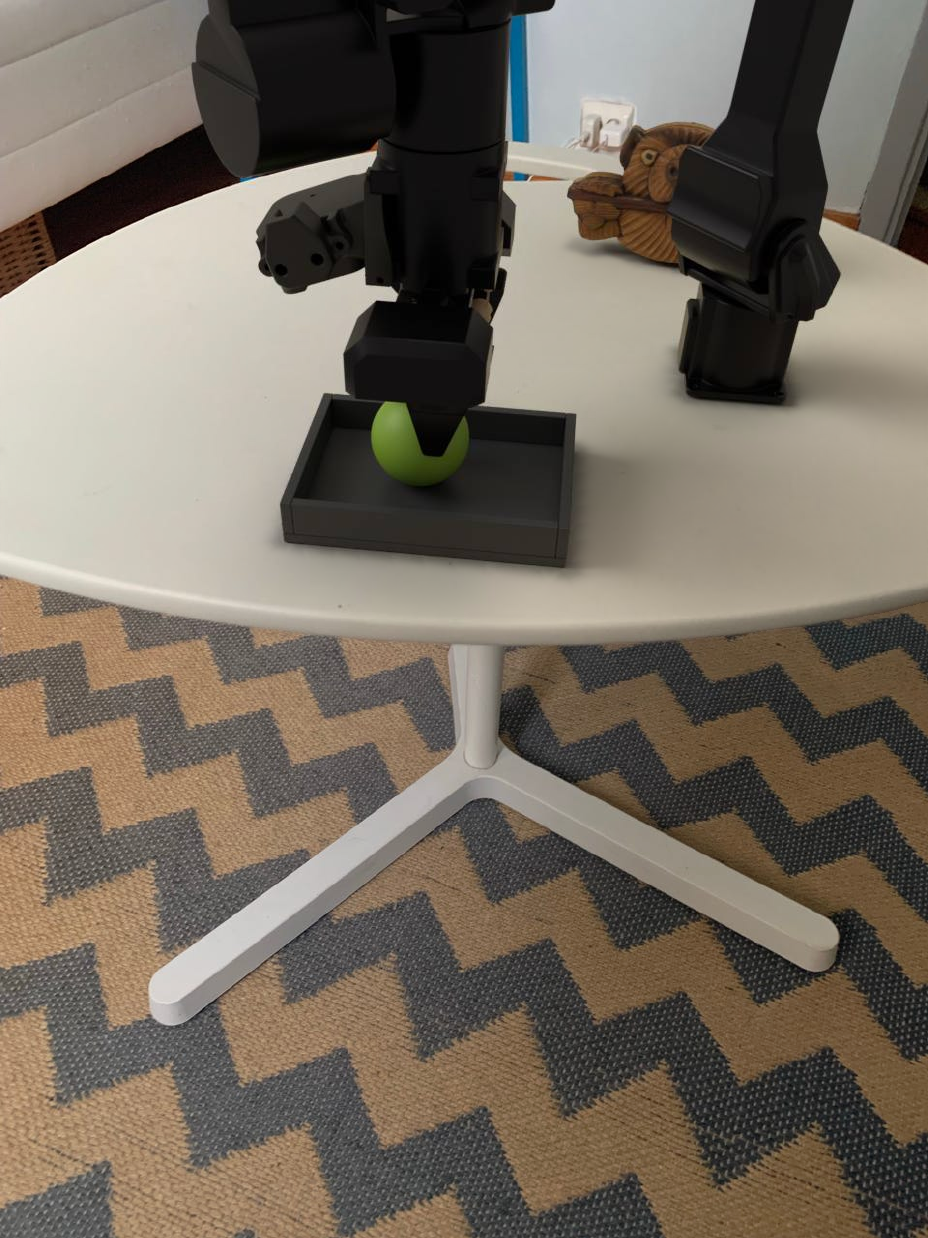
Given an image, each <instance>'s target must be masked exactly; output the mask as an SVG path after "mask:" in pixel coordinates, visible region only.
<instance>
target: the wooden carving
mask: <svg viewBox="0 0 928 1238" xmlns="http://www.w3.org/2000/svg"><path fill="white" fill-rule="evenodd" d="M715 129H716V128H713V127H711V126H708V125H707V124H703V123H699V122H694V121H692V122H691V121H672V122H666V123H662V124H658V125H656V126H653V127H649V128H648V129H645V128H643V127H642V126H640V125H637V124H634V125H633V126H632V127H631V128H630V131H629V132H628V135H627V137H626V138H625V140H624V142H623V144H622V146H621V149H620V153H619V156H618V157H619V163H620V166H621V167H622V168H623V172H622V174H619V173H616V172H610V171H591V172H589V173H587V174H586V175H585V176H581V177H577V178H575V179H574V180H573V182H572V183H571V185H570V186H569V187H568V189H567V193H566V198H567V199H568V200H571V201H572V206H573V207H572V208H573V213H574V214H575V215H576V216H577V227H578V234H579V236H580V237H581V239H584V240H588V241H593V242H594V241H602V240H603V241H604V240H608V239H613V238H616V239H617V241H619V243H620V244H621V245H623V246H624V247H625V248H627V249H628V250H629V251H631V252H633V253H634V254H637V255H639V256H640V257H643V258H645V259H650V260H652V261H657V262H662V263H669V264H679V262H678V254H677V247H676V244H675V243H674V242H672V240H671V221H672V217H670V216H668V215H666V210H667V208H668V206H669V204H670V202H671V200H672V197H673V194H674V190H675V187H676V182H677V175H678V165H679V158H680V156H681V154H682V153H683V151H684V149H685V148H686V147H687V146H689V145H692V146H700V147H701V145H702V144H703V143H704V142H705V141H706V140H707V139H708V137H709V136H710V135H711V134H712V133H713V132H714V130H715Z"/></svg>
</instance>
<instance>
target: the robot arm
mask: <svg viewBox="0 0 928 1238" xmlns="http://www.w3.org/2000/svg"><path fill="white" fill-rule="evenodd" d="M854 2H855V0H754V3H753V7H752V11H751V15H750V20H749V23H748V28H747V32H746V36H745V41H744V44H743V49H742V53H741V57H740V62H739V65H738V70H737V74H736V79H735V83H734V87H733V90H732V91H733V92H732V96H731V100H730V103H729V107H728V111H727V114H726V116H725V118H724V119H723V120H722V121H721V122H720V123H719V125H718V126H717V127H715V128H714V129H715V130H714V132H713V133H712V134H711V135H710V136H709V137H708V139H707V140H706V141H705V142H704V143H703V144H702V145H701V147H700V146H692V145H689V146H687V147H686V148H685V149H684V151H683V153H682V154H681V156H680V158H679V165H678V175H677V182H676V187H675V190H674V194H673V197H672V200H671V202H670V204H669V206H668V208H667V210H666V215H668V216H670V217H672V221H671V240H672V242H674V243H675V244H676V247H677V254H678V262H679V263H678V269H679V273H680V274H681V275H684V276H685V277H690V278H692V279H694V280H696V281H697V282H699V283H698V287H697V293H696V298H694V297H693V298H692V297H691V298H688V300H687V301H686V305H685V309H684V313H683V314H684V315H683V321H682V326H681V331H680V336H679V342H678V347H677V353H676V354H677V367H678V368H677V369H678V372H679V373H680V374H682V375H683V380H684V381H683V383H684V391H685V394H686V395H688V396H690V397H699V398H712V399H724V400H734V401H735V400H736V401H749V402H759V403H761V402H762V403H773V404H783V403H785V402H786V400H787V396H788V391H787V388H786V384H785V376H786V373H787V369H788V366H789V365H788V364H789V361H790V358H791V354H792V351H793V348H794V347H793V346H794V343H795V339H796V335H797V331H798V328H799V324H800V322H809V321H813V320H814V318H815V315H816V311H818V310H821V309H823V308H825V307H826V306H827V305H828V304H829V301H830V299H831V297H832V296H833V293H834V291H835V289H836V288H837V286H838V284H839V281H840V279H841V277H842V273H841V270H840V269H839V267H838V265H837V264H836V262H835V260H834V258H833V256H832V254H831V253H830V251H829V249H828V247H827V245H826V244H825V241H824V240H823V238H822V236H821V235H820V232H821V226H822V222H823V217H824V212H825V207H826V201H827V197H828V193H829V192H828V191H829V183H828V177H827V171H826V167H825V163H824V157H823V153H822V148H821V144H820V139H819V134H818V130H819V129H818V128H819V123H820V119H821V116H822V112H823V109H824V105H825V101H826V98H827V95H828V92H829V89H830V85H831V81H832V78H833V75H834V71H835V67H836V64H837V61H838V57H839V54H840V50H841V47H842V43H843V41H844V37H845V33H846V29H847V26H848V23H849V19H850V16H851V12H852V9H853V5H854ZM555 5H556V0H207V7H208V13H207V14H206V15H205V17H204V18H203V19H202V20H201V21H200V24H199V27H198V30H197V32H196V33H197V34H196V41H195V61H192V62H191V65H190V66H191V67H190V69H191V78H192V85H193V89H194V94H195V99H196V104H197V107H198V111H199V114H200V119H201V121H202V124H203V126H204V129H205V132H206V135H207V137H208V140H209V142H210V144H211V146H212V148H213V150H214V152H215V154H216V155H217V157H218V158H219V160H220V161H221V163H222V165H223V166H224V167H225V168H226V169H227V171H228V172H229V173H230V174H232V175H233V176H235V177H236V178H240V179H247V178H252V177H253V178H254V177H258V176H261V175H266V174H271V173H275V172H280V171H285V170H289V169H295V168H299V167H304V166H308V165H313V164H317V163H322V162H327V161H331V160H336V159H341V158H346V157H350V156H355V155H359V154H364V153H366V152H368V151H371V149H373V148H374V146H375V145H376V144H377V147H376V155H375V156H376V157H375V158H374V160H373V163H372V164H371V166H368V167H367V168H366V170H365V172H362V173H358V174H357V173H356V174H350V175H346V176H342V177H339V178H336V179H333V180H330V181H327V182H323V183H320V184H317V185H313V186H310V187H308V188H304V189H301V190H298V191H294V192H292V193H289V194H286V195H285V196H282V197H281V198H279V199H277V200H276V201H275V202H273V203H272V205H271V206H270V207H269V208H268V211H267V212H266V213H265V214H264V215H265V216H264V217H263V219H262V220H261V222H260V223H259V224H258V226H257V228H256V230H255V234H256V236H257V238H256V240H255V244H256V246H257V249H258V252H259V255H260V256H259V257H260V258H259V261H258V263H257V265H258V266H257V267H258V270H259V272H260V273H261V274H262V275H263V276H265V277H267V278H273V280H274V282H275V283H276V284H277V285H278V286H280V288H281V289H282V293H284V294H286V295H296V294H301V293H303V292H306V291H307V289H308V287H310V286H313V285H317V284H320V283H323V282H327V281H331V280H334V279H338V278H342V277H345V276H348V275H352V274H355V273H357V272H359V271H361V270H363V269H364V276H365V277H364V281H365V286H370V287H384V288H391V289H392V290H393V291H395V293H396V294H397V296H396V299H395V301H391V300H375V301H374V302H373V303H371V305H369V306H368V307H367V308H366V309H365V310H364V311H363V312H362V313H361V314H360V315H358V316H357V318H356V319H355V323H354V325H353V327H352V330H351V333H350V334H349V338H348V340H347V342H346V345H345V348H344V350H343V353H342V358H343V359H342V361H343V374H344V375H343V376H344V390H345V392H346V393H347V395H351V396H352V397H353V398H355V399H361V400H374V401H386V402H399V403H406V406H407V409H408V412H409V415H410V418H411V421H412V424H413V427H414V430H415V433H416V436H417V439H418V443H419V446H420V449H421V452H422V454H423V455H425V456H430V457H442V456H443V455H444V453H445V451H446V449H447V447H448V446H449V444H450V442H451V440H452V438H453V436H454V434H455V432H456V430H457V428H458V426H459V425H460V423H461V421H462V419H463V417H464V415H465V414H466V412H467V410H468V408H473V407H475V406H481V405H482V404H485V403H486V398H487V392H488V387H489V381H490V375H491V368H492V361H493V355H494V352H495V351H494V350H495V345H494V344H493V343H494V327H493V326H492V322H493V321H494V318H495V315H496V313H497V311H498V308H499V306H500V304H501V302H502V299H503V297H504V294H505V288H506V284H507V283H506V282H507V277H508V270H506V268H504V267H500V262H501V259H502V257H509V258H511V256H512V252H513V246H514V241H515V232H516V231H515V230H516V228H515V227H516V213H517V204H516V203H515V202H514V201H513V200H512V199H511V197H510V196H509V195H508V194H507V193H506V192H505V190H504V179H505V176H506V170H507V165H508V155H509V154H508V153H509V140H506V135H507V134H506V130H507V111H508V92H509V70H510V54H511V53H510V50H511V35H512V34H511V33H512V32H511V31H512V30H511V29H512V18H514V17H520V16H526V15H532V14H539V13H544V12H549V11H551V10H552V9H553V8H554V6H555ZM484 289H485V290H492V291H491V292H489V303H490V305H491V306H492V310H493V311H492V313H491V314H490V315H491V320H490V322H489V323H488V322H487V321H486V320H485V319H484V318H483V317H482V315H481V314H480V313H479V312H478V311H477V310H476V309H475V308H474V307H471V304H472V300H474V299H477V298H480V299H484V300H486V298H487V292H486V291H484ZM487 301H488V300H487Z"/></svg>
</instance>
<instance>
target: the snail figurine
mask: <svg viewBox="0 0 928 1238" xmlns="http://www.w3.org/2000/svg"><path fill="white" fill-rule="evenodd" d="M484 291H486V292H487V298H486V300H484V299H480V298H477V299H474V300H472V304H471V307H474V308H475V309H476V310H477V311H478V312H479V313H480V314H481V315H482V317H483V318H484V319H485V320H486V321H487V322H488V323H489V322H490V320H491V315H490V314H491V313H492V311H493V310H492V306H491V305H490V303H489V292H491V291H492V290H485V289H484ZM487 300H488V301H487ZM371 440H372V447H373V451H374V454H375V456H376V459H377V460H378V462H379V464H380V465H381V467H382V468H383V469H384V470H385V471H386V472H387V473H388V474H389V475H390V476H391V477H393V478H394V479H396V480H398V481H400V482H402V483H405V484H408V485H412V486H429V485H433V484H436V483H439V482H441V481H443V480H445V479H447V478H448V477H449V476H451V475H452V474H453V473H454V472H455V471H456V470H457V469H458V468H459V466H460V465H461V463H462V462H463V460H464V458H465V455H466V453H467V449H468V444H469V430H468V425H467V421H466V419H465V416H464V417H463V419H462V421H461V423H460V425H459V426H458V428H457V430H456V432H455V434H454V436H453V438H452V440H451V442H450V444H449V446H448V447H447V449H446V451H445V453H444V455H443V456H442V457H430V456H425V455H423V454H422V452H421V449H420V446H419V443H418V439H417V436H416V433H415V430H414V427H413V424H412V421H411V418H410V415H409V412H408V409H407V406H406V403H399V402H385V403H384V404H383V405H382V406H381V408H380V409H379V411H378V412H377V414H376V416H375V419H374V422H373V426H372V432H371Z"/></svg>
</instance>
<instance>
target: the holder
mask: <svg viewBox="0 0 928 1238" xmlns="http://www.w3.org/2000/svg"><path fill="white" fill-rule="evenodd" d="M385 402H386V401H374V400H361V399H355V398H353V397H352V396H351V395H349V394H344V393H332V392H331V393H330V392H323V394H322V396H321V399H320V402H319V404H318V407H317V409H316V411H315V414H314V416H313V419H312V421H311V424H310V427H309V429H308V431H307V434H306V436H305V439H304V442H303V444H302V446H301V450H300V452H299V454H298V457H297V459H296V461H295V465H294V466H293V469H292V472H291V474H290V477H289V478H288V482H287V484H286V486H285V489H284V492H283V494H282V496H281V499H280V502H279V511H280V518H281V519H280V520H281V527H282V535H283V541H284V542H285V543H294V544H306V545H315V546H316V545H317V546H327V547H328V546H329V547H338V548H349V549H358V550H359V549H360V550H361V549H362V550H369V551H371V550H372V551H381V552H382V551H383V552H394V553H404V554H414V555H426V556H435V557H436V556H437V557H447V558H458V559H468V560H469V559H471V560H480V561H481V560H483V561H493V562H503V563H514V564H524V565H536V566H548V567H556V568H557V567H558V568H565V567H566V565H567V557H568V548H569V541H570V531H571V517H572V502H573V501H572V499H573V498H572V497H573V496H572V495H573V482H574V467H575V465H574V464H575V446H576V429H577V413H574V412H561V411H549V410H535V409H525V408H515V407H513V408H512V407H501V406H500V407H499V406H489V405H478V406H475V407H473V408H468V410H467V412H466V414H465V415H464V416H465V419H466V421H467V425H468V430H469V444H468V449H467V453H466V455H465V458H464V460H463V462H462V463H461V465H460V466H459V468H458V469H457V470H456V471H455V472H454V473H453V474H452V475H451V476H449V477H448V478H447V479H445V480H443V481H441V482H439V483H436V484H433V485H429V486H412V485H408V484H405V483H402V482H400V481H398V480H396V479H394V478H393V477H391V476H390V475H389V474H388V473H387V472H386V471H385V470H384V469H383V468H382V467H381V465H380V464H379V462H378V460H377V459H376V456H375V454H374V451H373V447H372V440H371V432H372V426H373V422H374V419H375V416H376V414H377V412H378V411H379V409H380V408H381V406H382V405H383V404H384V403H385Z"/></svg>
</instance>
